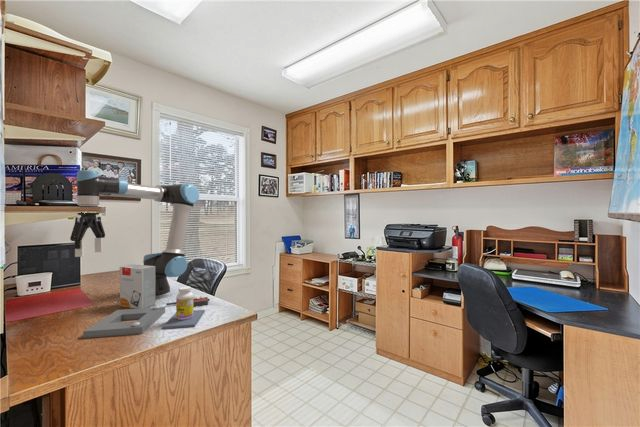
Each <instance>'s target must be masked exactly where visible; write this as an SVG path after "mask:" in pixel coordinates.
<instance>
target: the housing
mask: <svg viewBox="0 0 640 427" xmlns="http://www.w3.org/2000/svg"><path fill="white" fill-rule="evenodd" d="M165 313H166V306H162V307H161V306H160V305H154V306H152V307H149V308H141V309H135V308H127V309H126V308H125V309H117V310H115V311H113V312H112V313H110V314H108V315H107V316H105V317H104V318H102V319H101V320H99V321H97V322H96V323H94V324H93V325H91V326H89V327H88V328H86V329H85V330H83V331H82V339H88V338H89V339H90V338H102V337H114V336H115V337H118V336H128V335H142V334H144V333H146V332H147V331H148V329H149V328H150V327H151V326H152V325H153V324H155V322H157V321H158V320H159V318H161V317H162V316H163V315H164V314H165ZM129 320H130V321H129ZM131 320H132V321H131ZM133 320H136V321H133ZM124 321H125V322H124Z"/></svg>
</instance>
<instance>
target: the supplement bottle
mask: <svg viewBox="0 0 640 427" xmlns="http://www.w3.org/2000/svg"><path fill="white" fill-rule="evenodd" d="M193 297H194V294H193V292H192V288H191V286H188V285H187V286H180V287H179V288H178V294H177V295H176V298H175V301H176V304H175V305H176V307H175V308H176V312H175V313H176V318H177V319H178V320H186V319H190V318H192V317H193V310H194V307H193V299H194V298H193Z"/></svg>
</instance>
